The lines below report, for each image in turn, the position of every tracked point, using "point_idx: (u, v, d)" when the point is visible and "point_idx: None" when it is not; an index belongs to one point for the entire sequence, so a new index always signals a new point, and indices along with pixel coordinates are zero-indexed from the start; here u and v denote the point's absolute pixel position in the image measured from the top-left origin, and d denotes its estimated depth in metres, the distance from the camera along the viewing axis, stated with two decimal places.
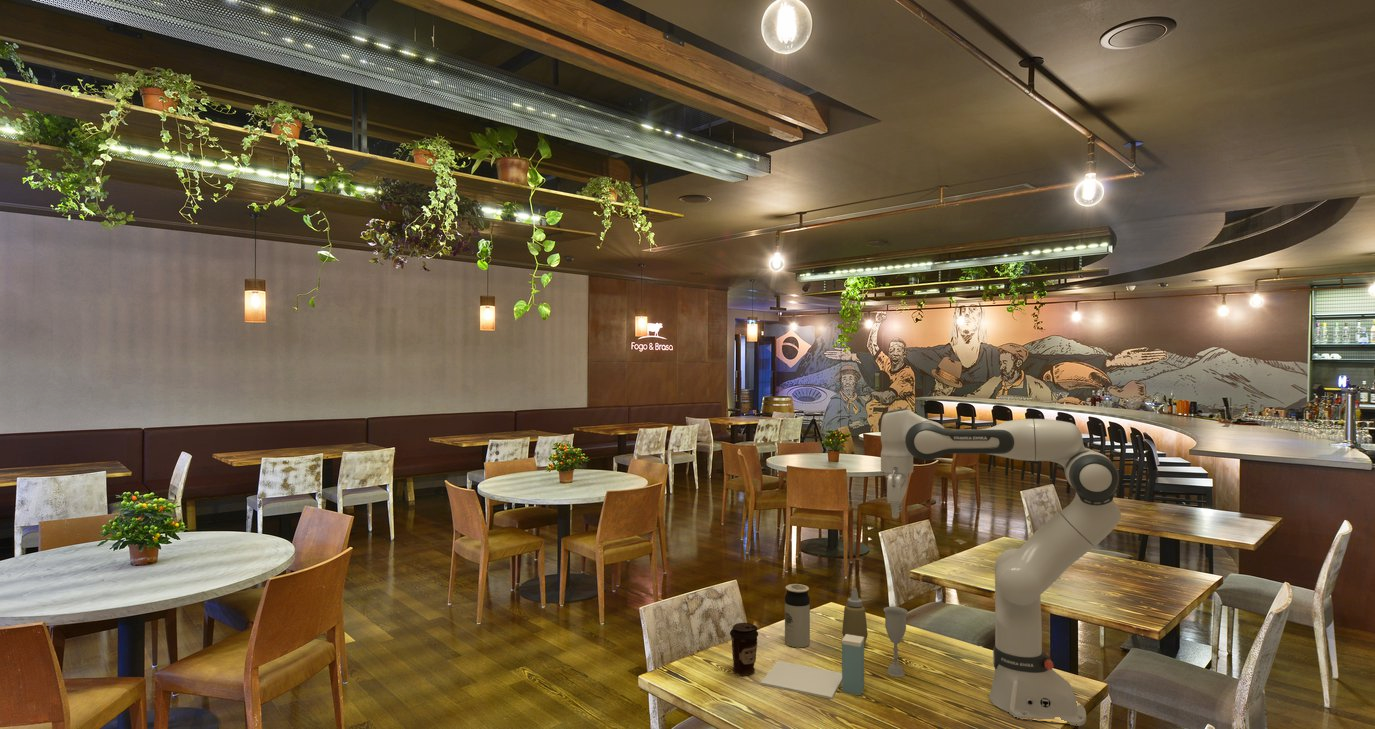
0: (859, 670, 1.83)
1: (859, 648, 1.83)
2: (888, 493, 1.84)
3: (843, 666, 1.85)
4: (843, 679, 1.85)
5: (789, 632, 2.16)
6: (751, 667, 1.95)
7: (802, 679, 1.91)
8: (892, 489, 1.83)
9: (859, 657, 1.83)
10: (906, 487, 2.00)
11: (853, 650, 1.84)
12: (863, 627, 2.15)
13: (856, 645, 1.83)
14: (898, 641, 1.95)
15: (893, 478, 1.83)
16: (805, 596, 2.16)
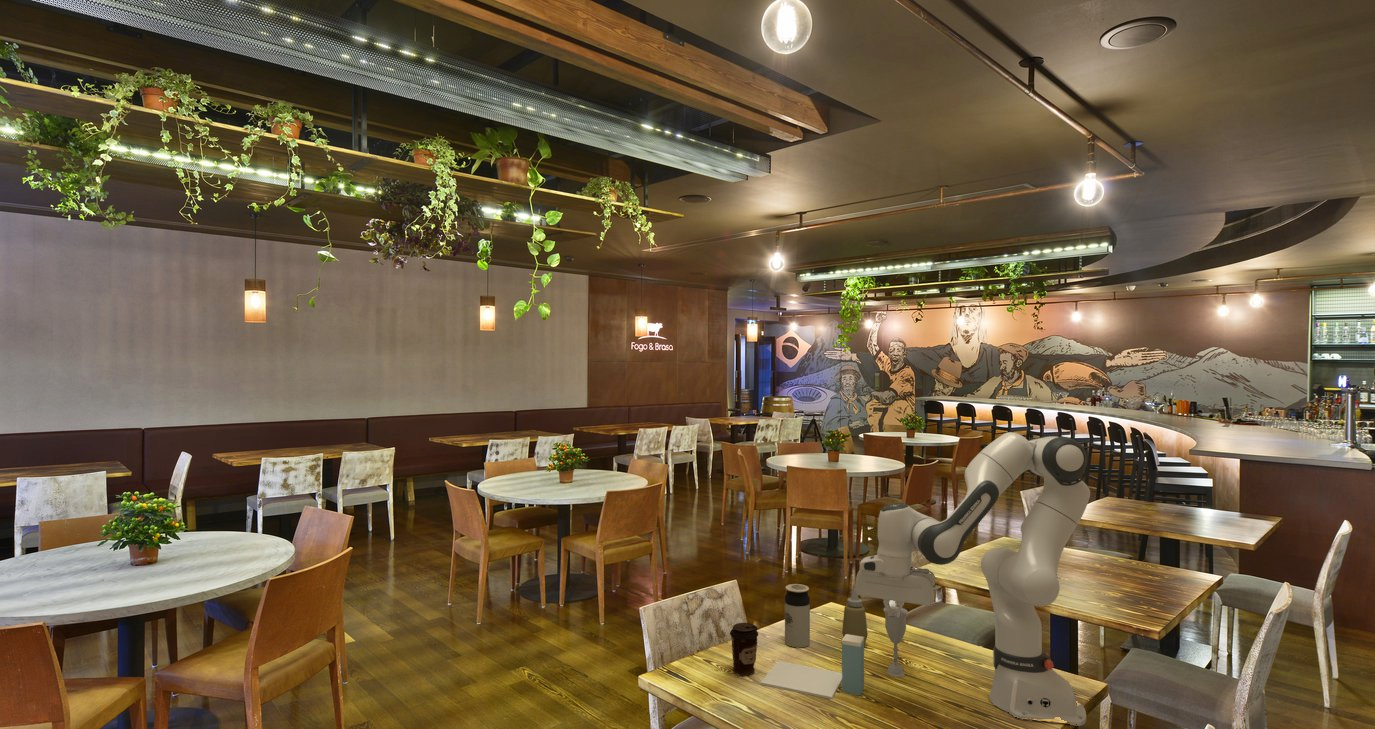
0: (859, 670, 1.83)
1: (859, 648, 1.83)
2: (932, 595, 1.76)
3: (843, 666, 1.85)
4: (843, 679, 1.85)
5: (789, 632, 2.16)
6: (751, 667, 1.95)
7: (802, 679, 1.91)
8: (932, 589, 1.77)
9: (859, 657, 1.83)
10: None
11: (853, 650, 1.84)
12: (863, 627, 2.15)
13: (856, 645, 1.83)
14: (898, 641, 1.95)
15: (934, 578, 1.78)
16: (805, 596, 2.16)
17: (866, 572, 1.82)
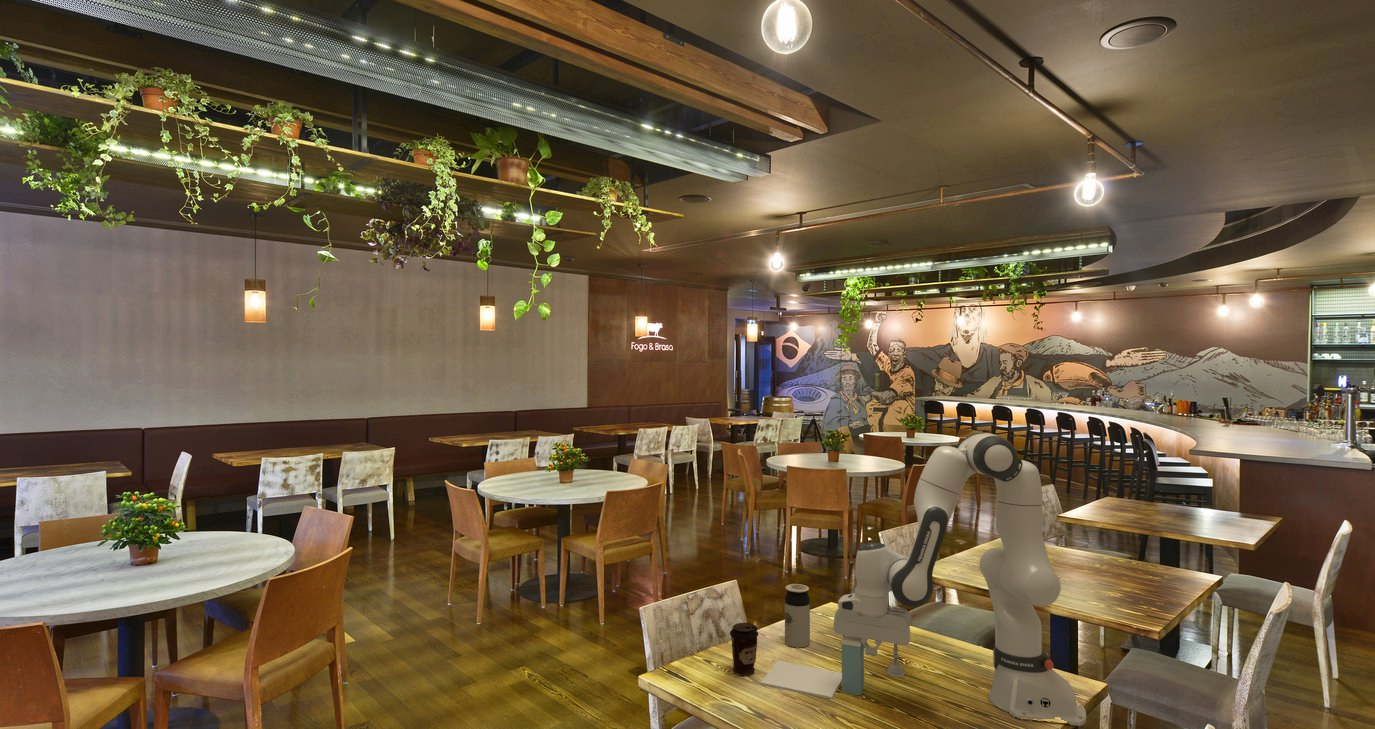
0: (859, 670, 1.83)
1: (859, 648, 1.83)
2: (908, 635, 1.79)
3: (843, 666, 1.85)
4: (843, 679, 1.85)
5: (789, 632, 2.16)
6: (751, 667, 1.95)
7: (802, 679, 1.91)
8: (909, 629, 1.80)
9: (859, 657, 1.83)
10: None
11: (853, 650, 1.84)
12: None
13: (856, 645, 1.83)
14: None
15: (911, 618, 1.80)
16: (805, 596, 2.16)
17: (844, 611, 1.85)
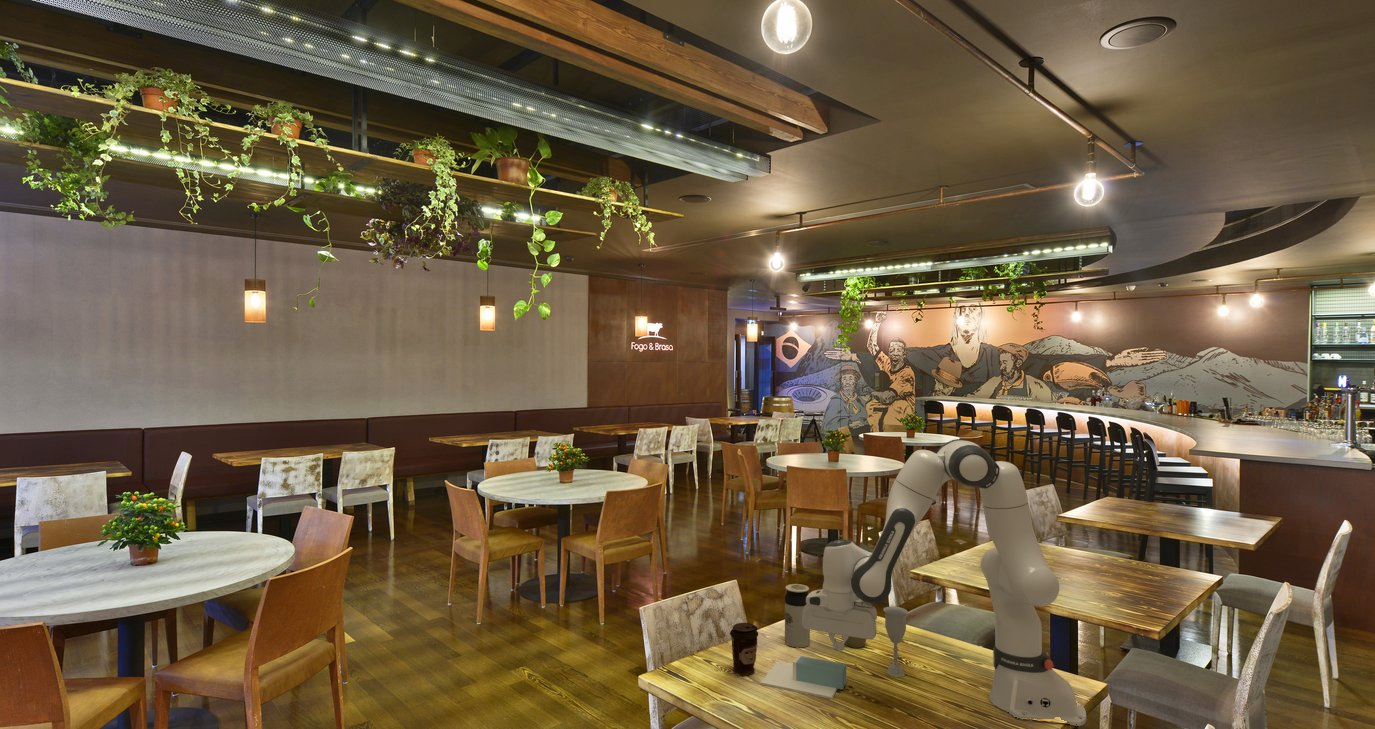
0: (818, 667, 1.88)
1: (797, 663, 1.90)
2: (874, 629, 1.82)
3: (817, 683, 1.88)
4: (829, 685, 1.86)
5: (789, 632, 2.16)
6: (751, 667, 1.95)
7: None
8: (874, 623, 1.84)
9: (806, 665, 1.89)
10: None
11: (800, 670, 1.90)
12: None
13: (795, 666, 1.91)
14: (898, 641, 1.95)
15: (876, 613, 1.84)
16: (805, 596, 2.16)
17: (811, 606, 1.89)
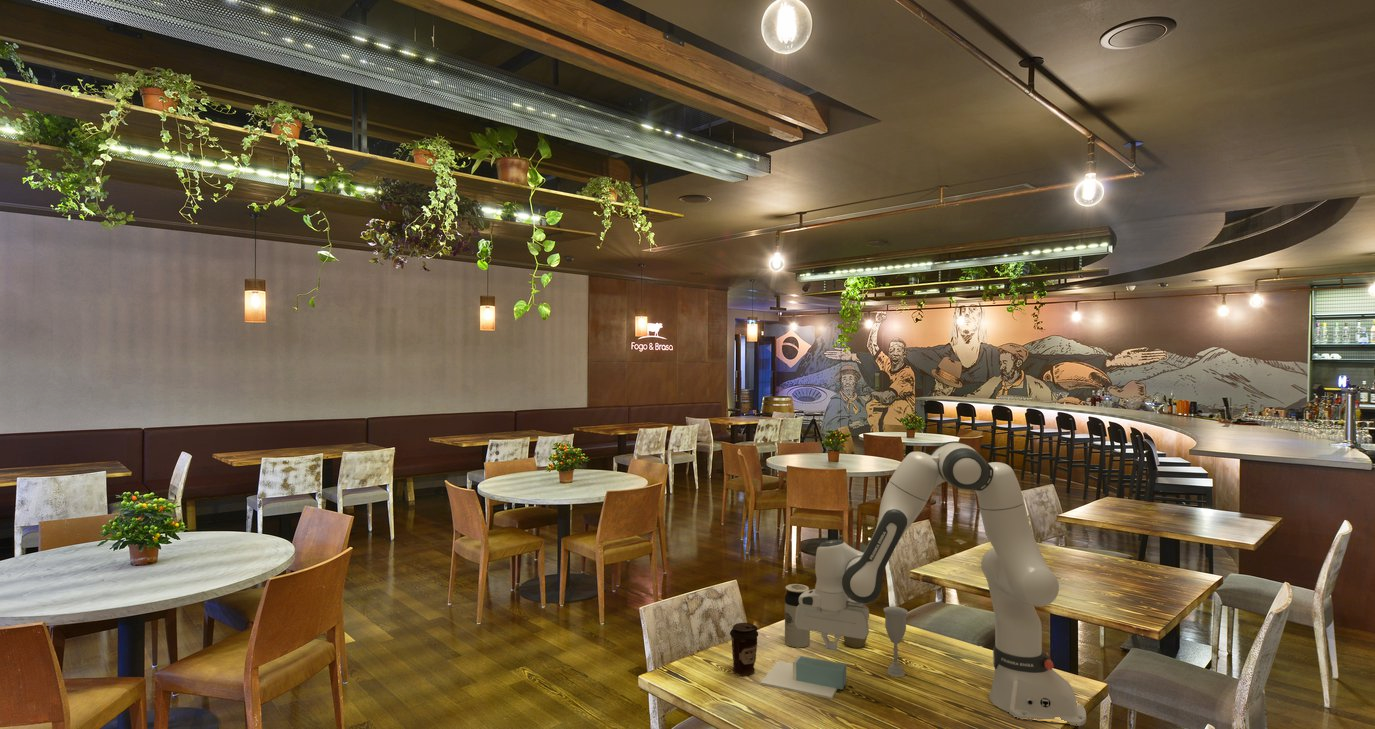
0: (818, 667, 1.88)
1: (797, 663, 1.90)
2: (866, 629, 1.83)
3: (817, 683, 1.88)
4: (829, 685, 1.86)
5: (789, 632, 2.16)
6: (751, 667, 1.95)
7: None
8: (866, 623, 1.85)
9: (806, 665, 1.89)
10: None
11: (800, 670, 1.90)
12: None
13: (795, 666, 1.91)
14: (898, 641, 1.95)
15: (868, 612, 1.85)
16: None
17: (804, 606, 1.90)
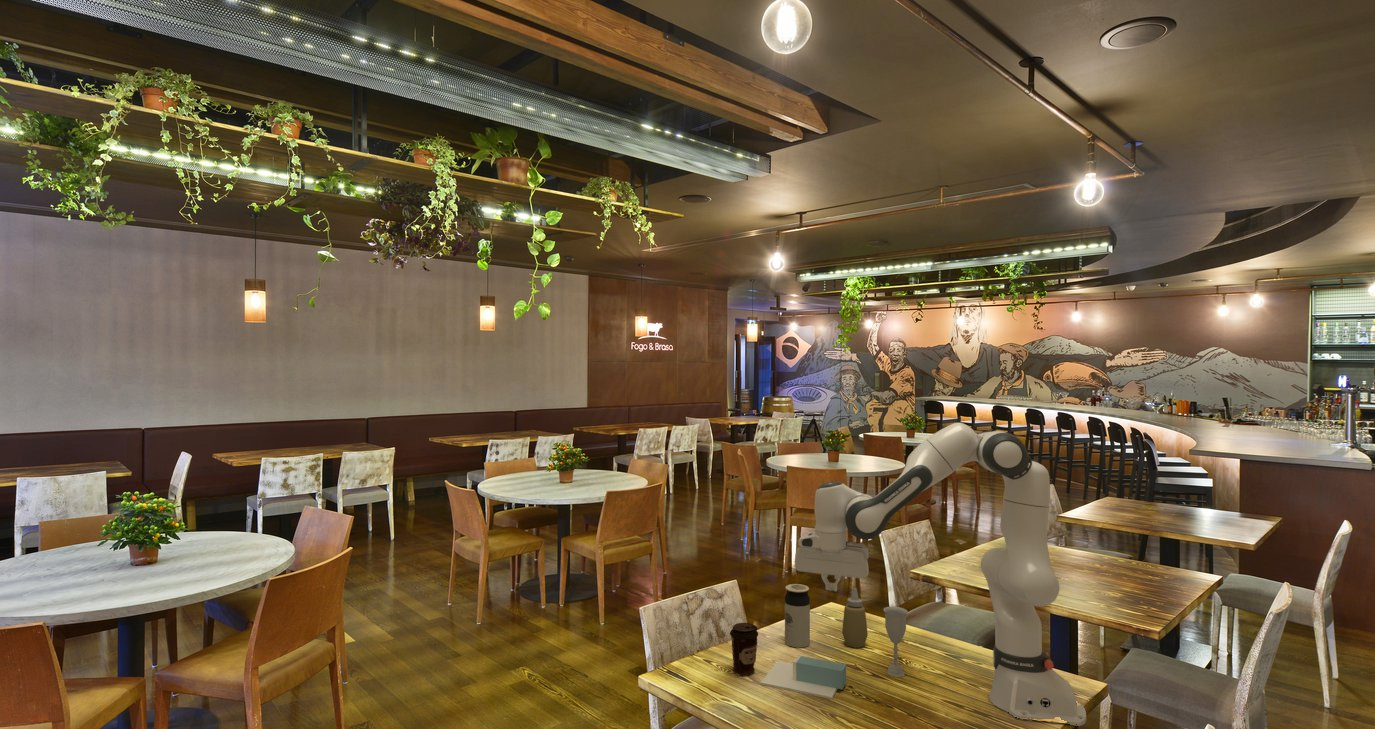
0: (818, 667, 1.88)
1: (797, 663, 1.90)
2: (866, 568, 1.84)
3: (817, 683, 1.88)
4: (829, 685, 1.86)
5: (789, 632, 2.16)
6: (751, 667, 1.95)
7: None
8: (866, 562, 1.85)
9: (806, 665, 1.89)
10: None
11: (800, 670, 1.90)
12: (863, 627, 2.15)
13: (795, 666, 1.91)
14: (898, 641, 1.95)
15: (868, 552, 1.85)
16: (805, 596, 2.16)
17: (804, 548, 1.90)
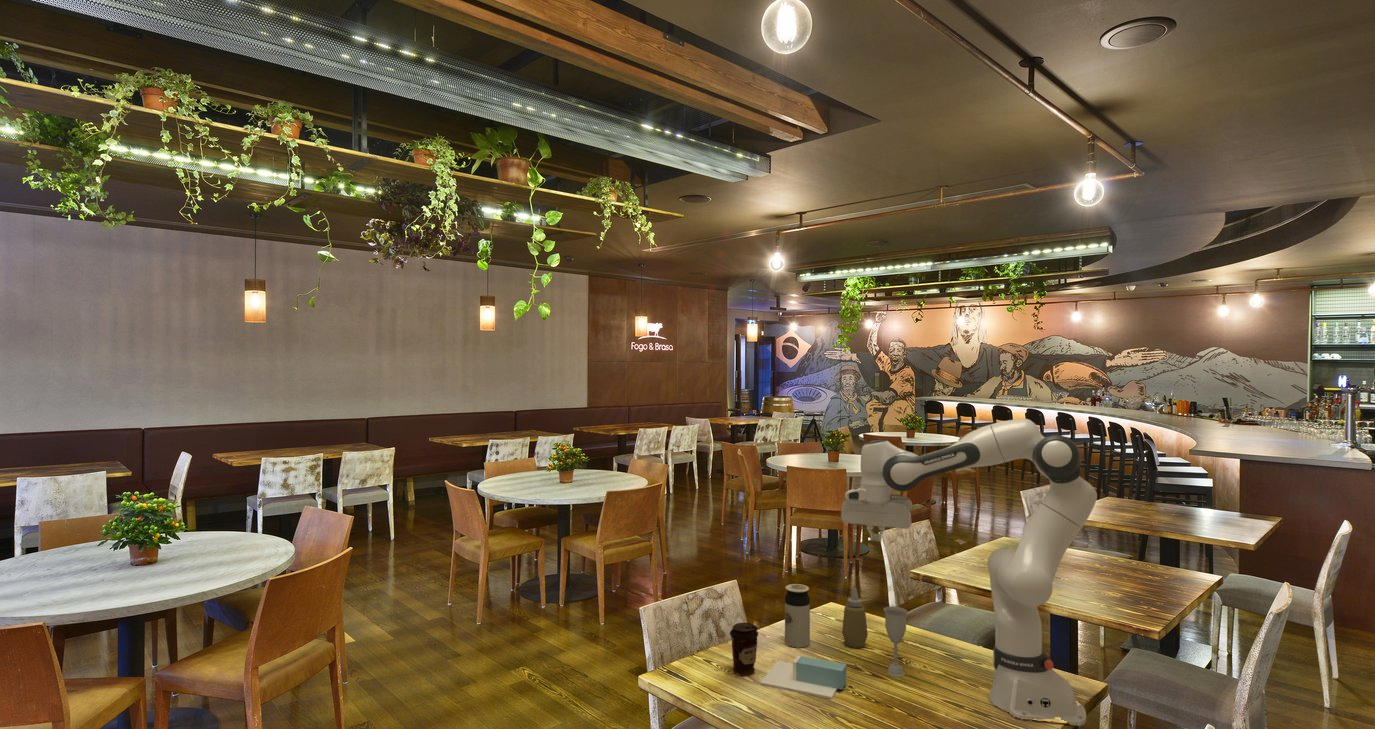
0: (818, 667, 1.88)
1: (797, 663, 1.90)
2: (909, 519, 1.97)
3: (817, 683, 1.88)
4: (829, 685, 1.86)
5: (789, 632, 2.16)
6: (751, 667, 1.95)
7: None
8: (909, 514, 1.98)
9: (806, 665, 1.89)
10: None
11: (800, 670, 1.90)
12: (863, 627, 2.15)
13: (795, 666, 1.91)
14: (898, 641, 1.95)
15: (911, 504, 1.98)
16: (805, 596, 2.16)
17: (850, 501, 2.03)
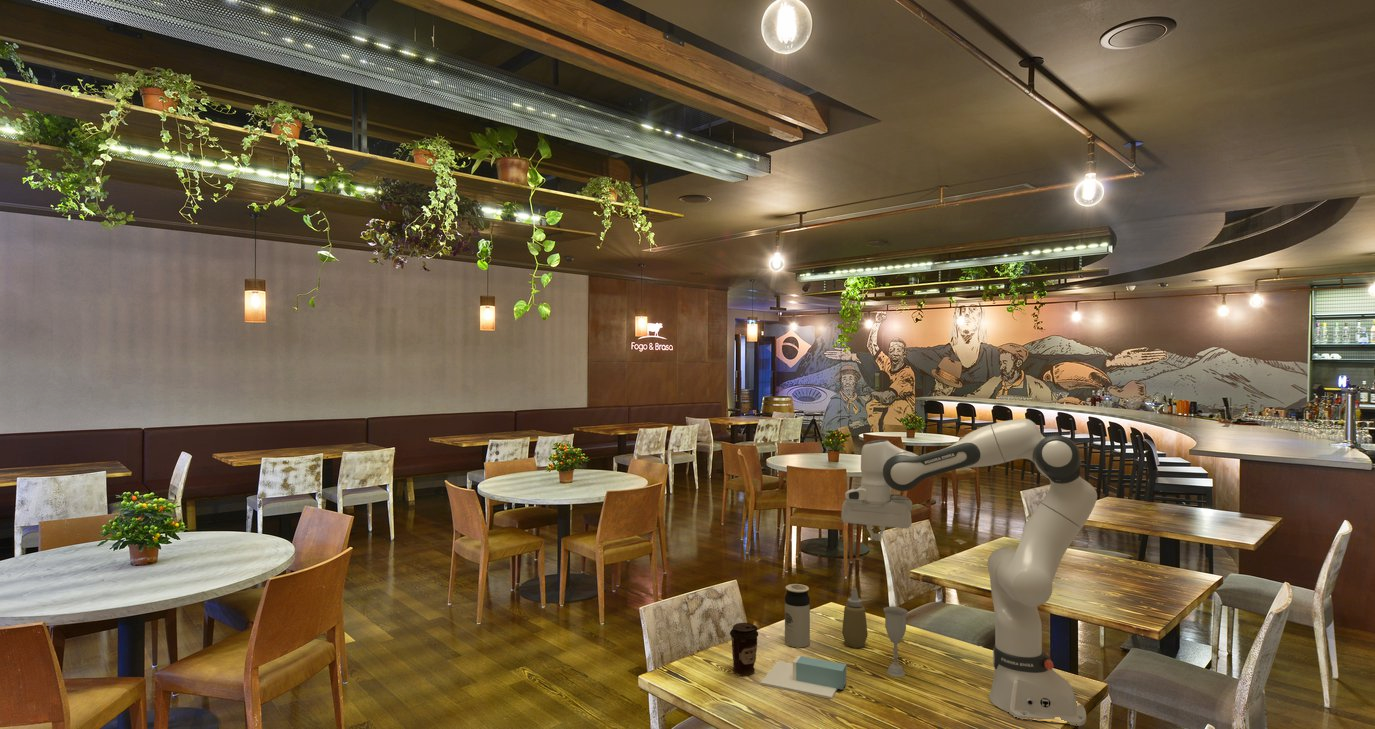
0: (818, 667, 1.88)
1: (797, 663, 1.90)
2: (909, 519, 1.97)
3: (817, 683, 1.88)
4: (829, 685, 1.86)
5: (789, 632, 2.16)
6: (751, 667, 1.95)
7: None
8: (910, 514, 1.98)
9: (806, 665, 1.89)
10: None
11: (800, 670, 1.90)
12: (863, 627, 2.15)
13: (795, 666, 1.91)
14: (898, 641, 1.95)
15: (911, 504, 1.98)
16: (805, 596, 2.16)
17: (851, 501, 2.03)
